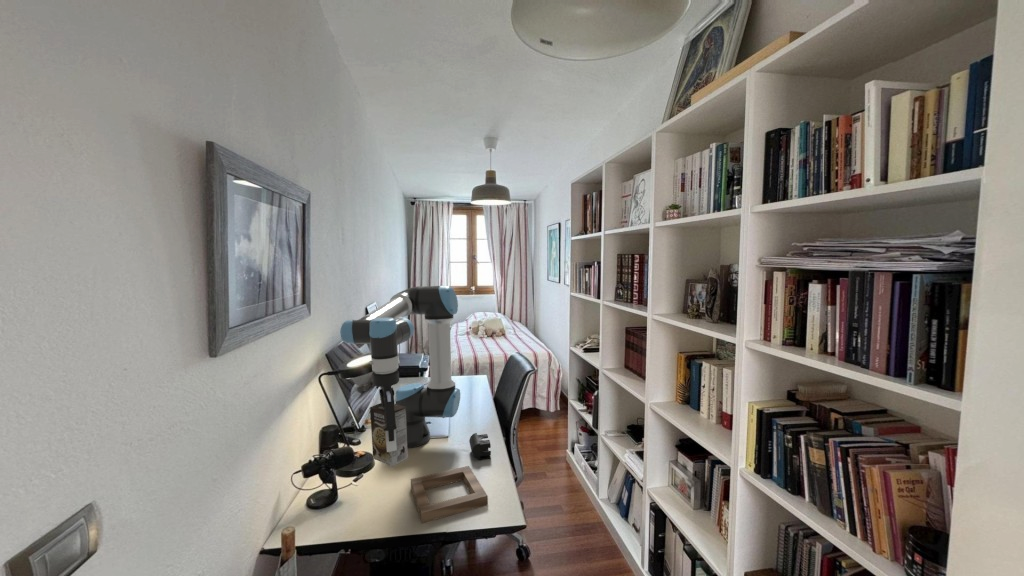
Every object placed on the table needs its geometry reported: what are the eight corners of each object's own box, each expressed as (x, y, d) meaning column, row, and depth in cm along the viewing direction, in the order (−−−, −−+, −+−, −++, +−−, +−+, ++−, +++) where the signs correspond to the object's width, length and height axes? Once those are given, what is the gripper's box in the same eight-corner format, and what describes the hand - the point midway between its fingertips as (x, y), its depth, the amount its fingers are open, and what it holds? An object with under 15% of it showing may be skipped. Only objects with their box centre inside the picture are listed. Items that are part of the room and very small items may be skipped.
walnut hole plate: (411, 487, 135) (410, 479, 135) (469, 473, 143) (468, 465, 143) (422, 523, 117) (421, 513, 117) (487, 505, 124) (487, 495, 124)
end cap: (469, 450, 161) (468, 433, 161) (487, 447, 163) (486, 431, 162) (472, 462, 151) (471, 444, 151) (491, 459, 153) (490, 442, 152)
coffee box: (371, 459, 122) (368, 407, 121) (389, 450, 128) (386, 400, 126) (391, 467, 117) (388, 413, 116) (409, 457, 123) (406, 405, 121)
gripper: (369, 363, 129) (373, 430, 131) (375, 383, 108) (379, 463, 110) (393, 360, 132) (397, 425, 134) (403, 379, 111) (408, 456, 113)
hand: (389, 442), depth 122 cm, fingers closed on coffee box, 11 cm apart
